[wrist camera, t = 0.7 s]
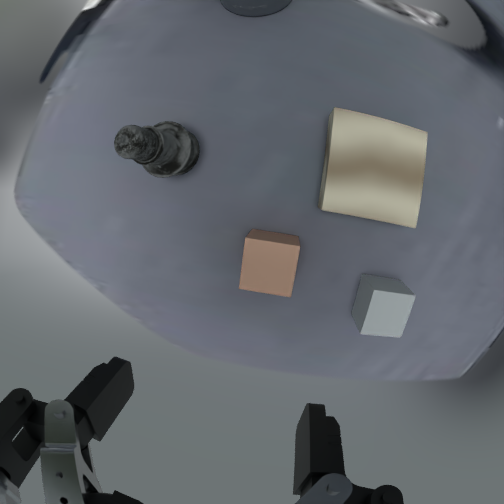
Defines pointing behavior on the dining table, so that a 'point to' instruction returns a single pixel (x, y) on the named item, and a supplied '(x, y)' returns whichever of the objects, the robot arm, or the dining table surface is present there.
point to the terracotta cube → (269, 262)
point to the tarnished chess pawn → (159, 148)
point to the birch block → (373, 168)
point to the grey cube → (382, 306)
